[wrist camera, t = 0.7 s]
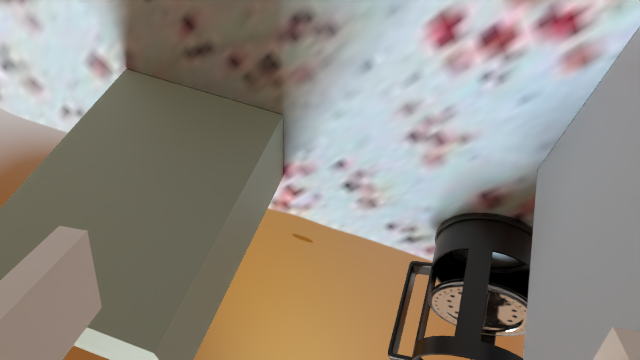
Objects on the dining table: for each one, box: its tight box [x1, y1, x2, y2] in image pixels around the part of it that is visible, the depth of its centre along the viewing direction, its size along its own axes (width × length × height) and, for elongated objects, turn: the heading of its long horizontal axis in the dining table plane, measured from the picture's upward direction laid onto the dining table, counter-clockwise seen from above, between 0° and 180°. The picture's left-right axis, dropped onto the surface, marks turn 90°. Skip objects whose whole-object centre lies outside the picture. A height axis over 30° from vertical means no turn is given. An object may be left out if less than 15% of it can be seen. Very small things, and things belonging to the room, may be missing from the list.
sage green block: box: [0, 69, 283, 360], centre depth 36 cm, size 8×14×20 cm, turn 86°
